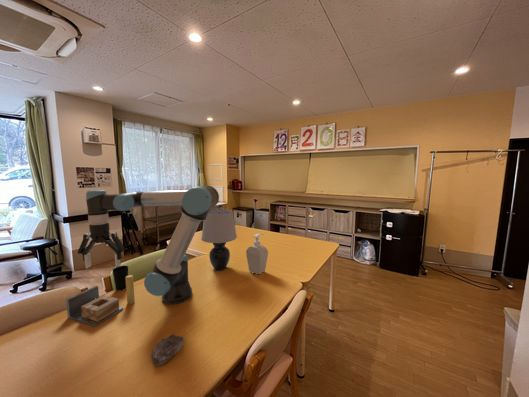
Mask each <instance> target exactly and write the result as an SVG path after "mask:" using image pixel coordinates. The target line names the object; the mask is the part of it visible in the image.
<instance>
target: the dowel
mask: <svg viewBox="0 0 529 397" xmlns="http://www.w3.org/2000/svg"><path fill="white" fill-rule="evenodd" d="M134 286H135V284H134V275H132V274H130V275H129V274H128V276H126V289H125V290H126V291H125V292H126V303H127V305H133V304H135V302H136V301H135V288H134Z"/></svg>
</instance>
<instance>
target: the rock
mask: <svg viewBox="0 0 529 397" xmlns="http://www.w3.org/2000/svg"><path fill="white" fill-rule="evenodd" d="M184 343H185V338H184V336H183V335H182V336H181V335H176V334H174V333H172V334H171V335H169V336H167V337H166V338H161V339H160V340H159V341H157V343H156V345H155V346H154V348H153V350H152V351H151V352H152V353H151V359H152V361H153V364H154V365H155V367H159V366H162V365H165V364H167V363H168V362H169V361H170V360H171V358H173V357H174V356H176V355H177V353H178V352H179V351H180V350H182V349H183V346H184Z"/></svg>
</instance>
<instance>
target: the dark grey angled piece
mask: <svg viewBox="0 0 529 397" xmlns="http://www.w3.org/2000/svg"><path fill="white" fill-rule="evenodd" d="M99 292H100V290H99V286H98V285H94V286H92V287H90V288H88V289H86V290H83V291H81V292H79V293H76V294H75V295H72V296H70V297H68V298H66V299H65V303H66V304H65V305H66V312H67V313H66V314H67V318H68V319H70V320H73V321H76V322H79V323H82V324H85V325H88V326H91V327H94V328H96V327H97V326H98V325H101V324H102V323H104V322H105V321H107V320H109V319H111V318H112V317H113V316H115V315H116V314H118V313H119V312H120V313H121V311H123V310H124V307H122V306H119V309H118V310H116V311H115V312H113V313H111V314H110V315H108V316H106V317H105V318H103V319H101V320H100V321H98V322H96V321H93V320H90V319H87V318H84V317H82V309H81V306H83V305H85V304H87V303H89V302H91V301H93V300H95V298H96V299H97V298H99V297H100V294H99Z"/></svg>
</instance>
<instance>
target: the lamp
mask: <svg viewBox="0 0 529 397" xmlns="http://www.w3.org/2000/svg"><path fill="white" fill-rule="evenodd" d="M234 218H235V217H234V212H233V211H232V210H231V209H214V210H213V209H210V211H209V213H208V215H207V217H206V219H205V220H204V221H202V222H203V223H202V231H201V238H200V239H201V241H203V242H204V243H209V244H210V243H211V244H212V245H213V247H212V248H211V249H210V251H209V254H208V255H209V256H208V257H209V261H210V264H211V266H212V268H213V270H214V271H216V272H217V271H218V272H220V271H224V269H225V270H226V269H227V266H228V265H229V262H230V257H231V252H230V250H229V248H228V247H226V244H227V243H228V242H232V241H235V240H236V239H237V238H238V236H237V228H236V224H235V219H234Z"/></svg>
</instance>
